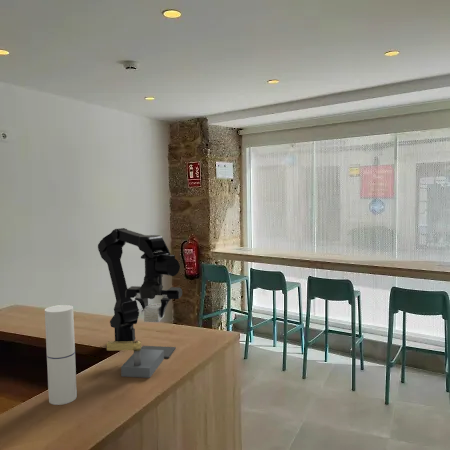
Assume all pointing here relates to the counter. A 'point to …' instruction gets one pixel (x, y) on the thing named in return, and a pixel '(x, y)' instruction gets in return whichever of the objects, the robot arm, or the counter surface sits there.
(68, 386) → the cylindrical container
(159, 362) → the body
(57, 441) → the counter surface
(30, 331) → the counter surface
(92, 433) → the counter surface
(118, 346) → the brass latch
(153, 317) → the lever cap
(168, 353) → the rubber mat
